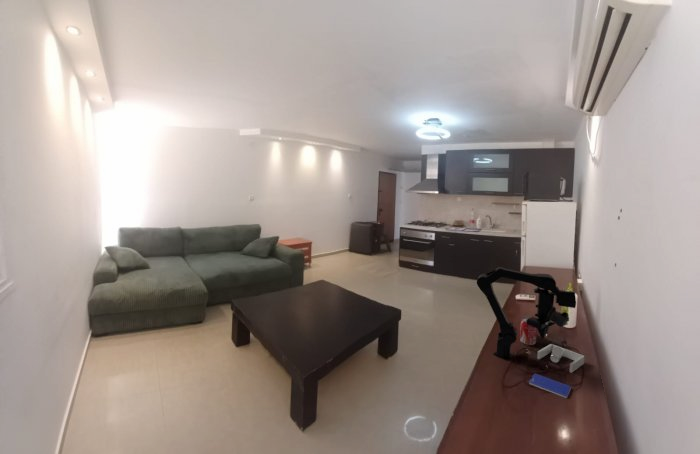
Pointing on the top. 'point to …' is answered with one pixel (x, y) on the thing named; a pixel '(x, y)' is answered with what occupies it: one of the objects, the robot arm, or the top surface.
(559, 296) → the robot arm
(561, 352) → the milkshake
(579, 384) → the top surface
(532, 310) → the top surface
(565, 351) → the box
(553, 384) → the hard drive
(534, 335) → the soda can
